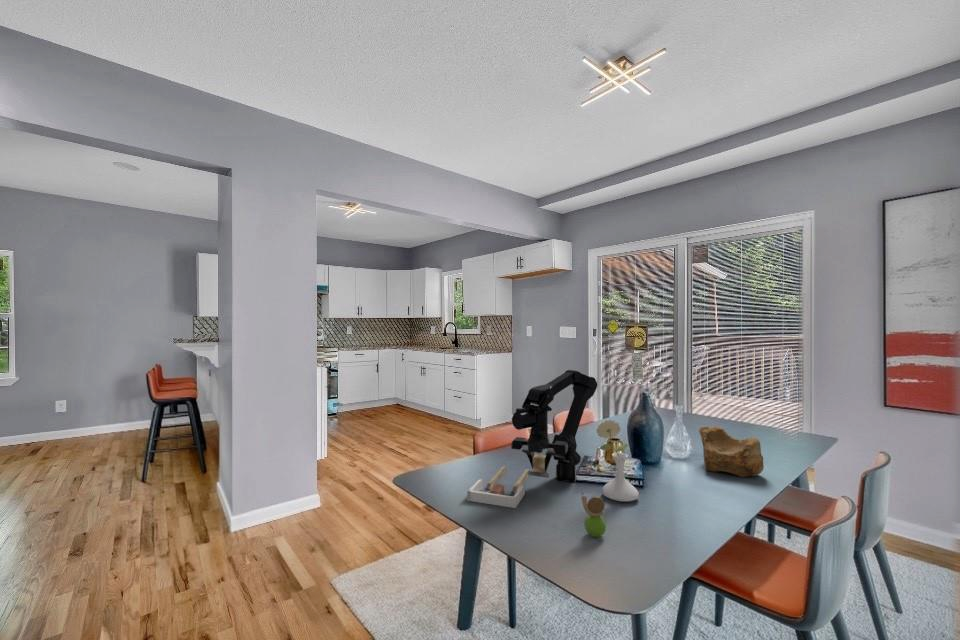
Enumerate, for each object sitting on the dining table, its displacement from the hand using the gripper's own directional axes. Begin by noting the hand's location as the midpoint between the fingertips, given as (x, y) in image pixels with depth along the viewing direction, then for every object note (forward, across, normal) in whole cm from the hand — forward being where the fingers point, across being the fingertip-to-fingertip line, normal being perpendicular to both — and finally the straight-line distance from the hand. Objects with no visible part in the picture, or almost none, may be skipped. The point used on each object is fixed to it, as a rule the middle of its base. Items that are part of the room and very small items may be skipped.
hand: (539, 470), depth 143 cm
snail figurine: (+6, +20, -27) cm, 34 cm away
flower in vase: (+6, +25, +1) cm, 26 cm away
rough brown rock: (+7, +62, +40) cm, 75 cm away
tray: (+6, -12, -13) cm, 18 cm away
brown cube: (+6, -12, -10) cm, 17 cm away
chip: (+6, -12, -13) cm, 19 cm away
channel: (+6, -12, +2) cm, 13 cm away
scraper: (+1, 0, 0) cm, 1 cm away
